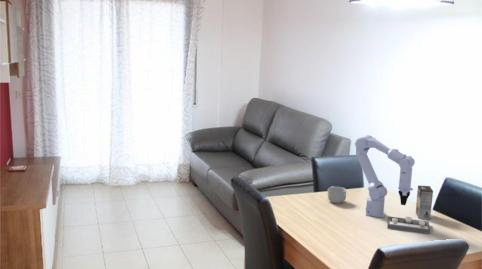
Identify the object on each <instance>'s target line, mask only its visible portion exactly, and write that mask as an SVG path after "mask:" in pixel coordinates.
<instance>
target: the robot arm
mask: <svg viewBox="0 0 482 269" xmlns="http://www.w3.org/2000/svg"><path fill="white" fill-rule="evenodd" d="M354 145H355V155H356V158H357V160H358V163H359V164H360V167H361V170H362V171H363V174H364V176H365V178H366V180H367V182H368V186H367V189H368V195H369V197H366V206H365V216H368V217H378V218H384V217H385V212H384V211H385V197H386V196H387V195H388V190H387V187H385V185H384V184H383V182H382V181H381V180H379V178H378V176H377V174H376V172H375V170H374V167H373V165H372V163H371V161H370V158H369V155H368V153H369V150H370V149H371V148H372V149H376V150H378V151H379V152H381V153H383V154H385V155H386V156H387V158H388V159H389V160H391V161H392V162H394V163H395V164H398V166H399V168H400V172H399V181H398V187H397V188H398V195H399V200H400V205H401V206H406V204H407V201H408V198H409V197H410V196H411V191H414V188H413V187H411V186H412V175H413V167H414V165H415V158H413V157H412V156H410V155H407V154H406V153H405V154H404V153H402V152H400V151H399V149H397V148H392V149H391V148H389V147H388V146H387V145H385V144H383V143H382V142H381V141H380V140H378V139H376V137H373V136H371V135H370V134H369V135H365V136H361V137H358V138H356V140H355V142H354Z"/></svg>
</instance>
